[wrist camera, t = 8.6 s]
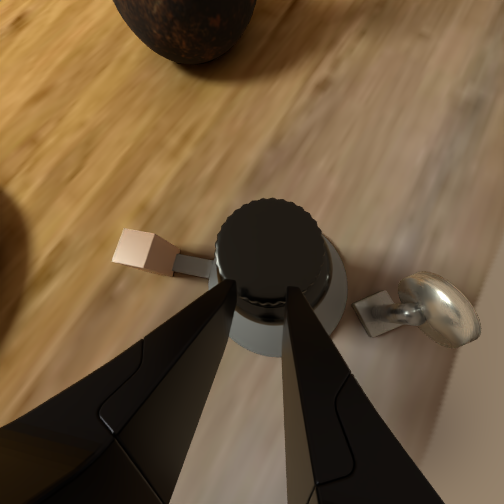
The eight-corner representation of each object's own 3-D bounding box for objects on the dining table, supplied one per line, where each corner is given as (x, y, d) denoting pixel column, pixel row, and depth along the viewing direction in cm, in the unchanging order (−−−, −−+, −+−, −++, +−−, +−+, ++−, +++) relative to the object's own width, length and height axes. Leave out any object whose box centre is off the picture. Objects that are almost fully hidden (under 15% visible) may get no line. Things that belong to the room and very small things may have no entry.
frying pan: (373, 320, 19) (404, 324, 15) (182, 403, 20) (150, 433, 15) (296, 182, 24) (299, 149, 19) (140, 251, 24) (105, 236, 19)
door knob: (405, 330, 19) (503, 346, 11) (373, 344, 19) (445, 370, 11) (377, 283, 20) (445, 264, 12) (347, 296, 20) (393, 286, 12)
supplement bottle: (292, 236, 22) (305, 152, 10) (327, 300, 20) (392, 286, 8) (229, 266, 22) (172, 216, 10) (258, 333, 20) (227, 364, 8)
